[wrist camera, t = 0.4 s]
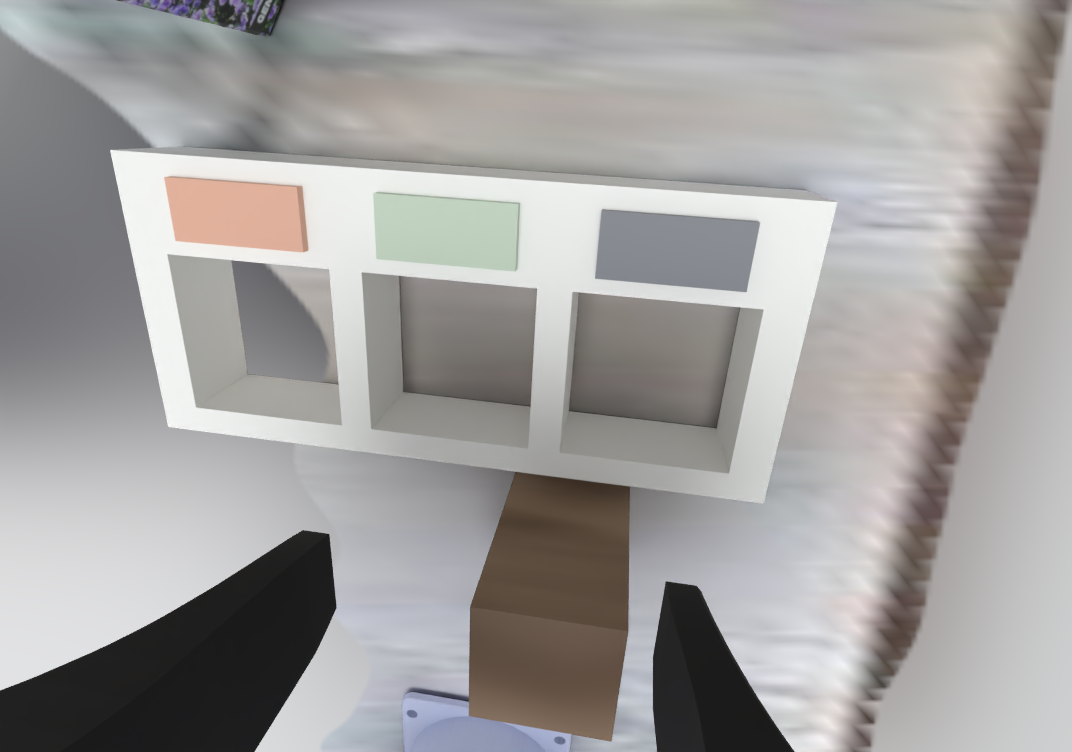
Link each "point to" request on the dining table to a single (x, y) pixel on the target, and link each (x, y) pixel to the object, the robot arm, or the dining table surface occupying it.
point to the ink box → (222, 12)
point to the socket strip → (479, 257)
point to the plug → (553, 608)
